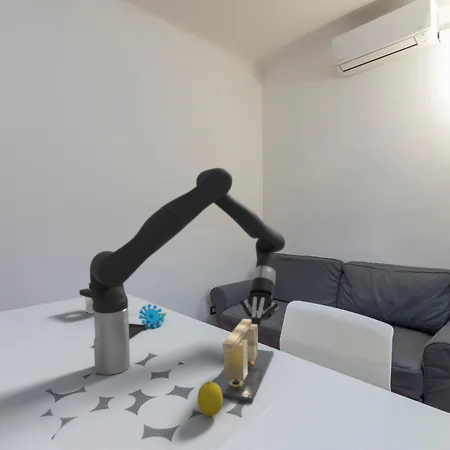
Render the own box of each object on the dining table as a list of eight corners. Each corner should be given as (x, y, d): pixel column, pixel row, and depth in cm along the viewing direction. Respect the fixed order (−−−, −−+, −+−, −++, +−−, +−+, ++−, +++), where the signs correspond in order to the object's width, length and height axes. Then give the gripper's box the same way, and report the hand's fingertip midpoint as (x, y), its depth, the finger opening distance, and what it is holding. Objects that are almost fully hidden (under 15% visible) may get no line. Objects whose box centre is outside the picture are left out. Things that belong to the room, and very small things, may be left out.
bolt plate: (238, 351, 115) (238, 313, 114) (273, 355, 111) (273, 316, 110) (208, 395, 89) (207, 347, 88) (252, 402, 86) (251, 353, 85)
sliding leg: (240, 355, 106) (240, 316, 105) (257, 357, 104) (257, 317, 104) (218, 390, 87) (217, 342, 86) (238, 393, 85) (237, 345, 85)
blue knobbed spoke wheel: (142, 327, 132) (137, 303, 138) (137, 335, 136) (132, 311, 142) (170, 325, 138) (164, 302, 144) (164, 333, 142) (159, 310, 148)
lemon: (197, 409, 83) (197, 375, 83) (222, 408, 84) (221, 374, 83) (197, 424, 78) (197, 388, 77) (223, 423, 78) (223, 387, 78)
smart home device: (93, 343, 120) (126, 322, 139) (93, 348, 120) (127, 327, 139) (115, 345, 117) (146, 324, 136) (115, 351, 117) (146, 329, 136)
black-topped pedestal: (55, 313, 157) (53, 282, 156) (112, 301, 174) (111, 273, 173) (80, 330, 136) (78, 295, 135) (143, 314, 154) (142, 283, 153)
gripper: (242, 275, 122) (231, 323, 111) (281, 277, 117) (274, 327, 107) (246, 287, 127) (236, 334, 116) (284, 289, 123) (277, 338, 112)
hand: (254, 331), depth 112 cm, fingers closed
